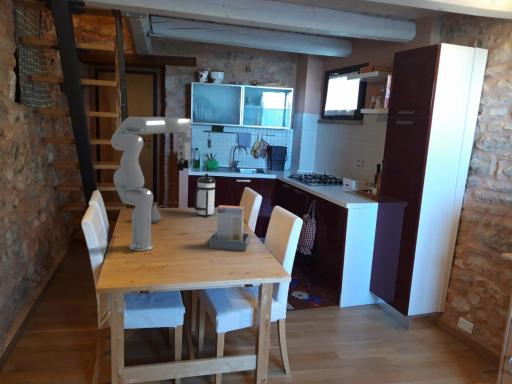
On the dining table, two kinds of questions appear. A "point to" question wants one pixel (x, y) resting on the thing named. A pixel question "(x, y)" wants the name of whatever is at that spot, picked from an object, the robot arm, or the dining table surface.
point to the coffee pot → (157, 212)
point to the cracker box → (230, 223)
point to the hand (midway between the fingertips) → (183, 169)
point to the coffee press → (205, 196)
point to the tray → (229, 243)
